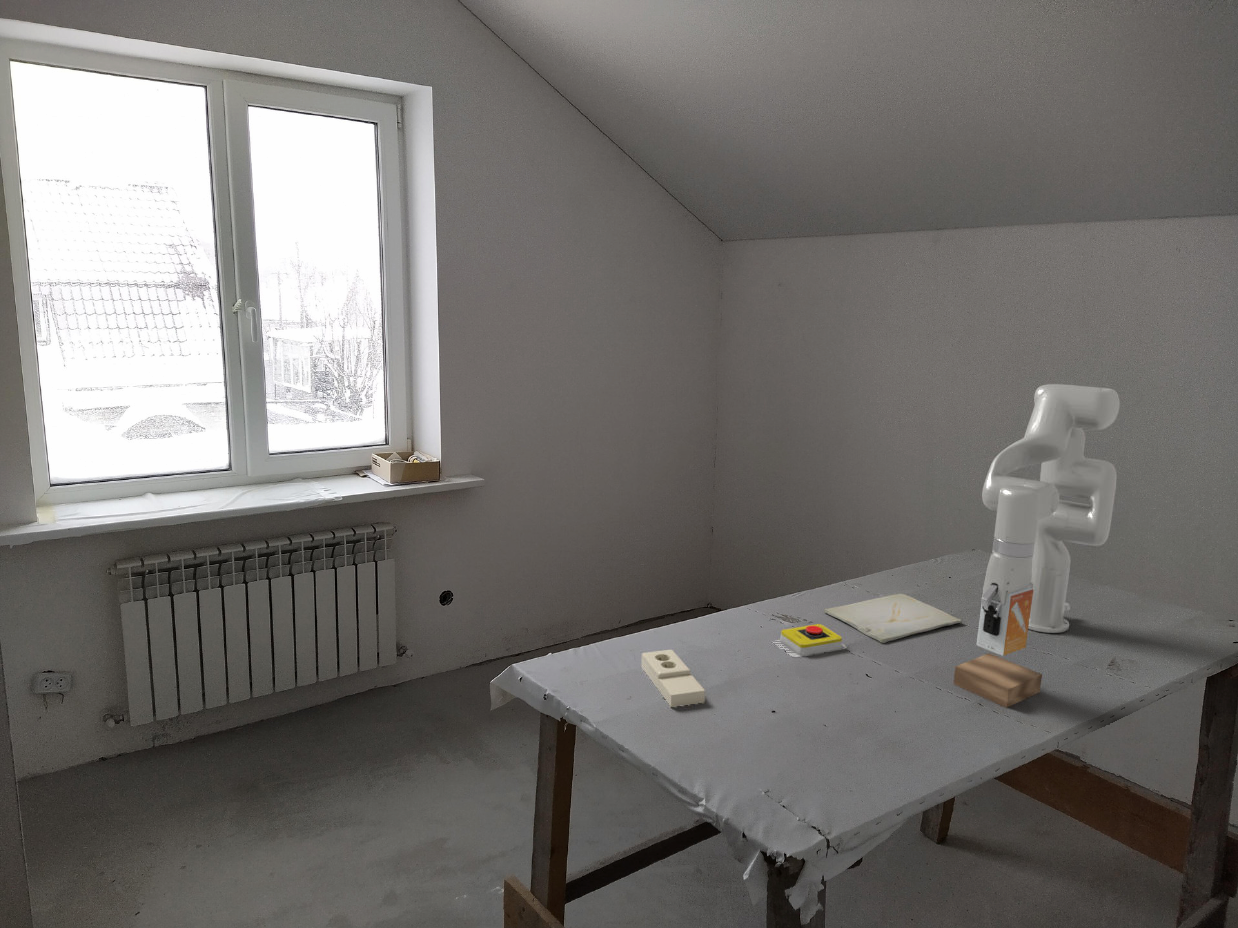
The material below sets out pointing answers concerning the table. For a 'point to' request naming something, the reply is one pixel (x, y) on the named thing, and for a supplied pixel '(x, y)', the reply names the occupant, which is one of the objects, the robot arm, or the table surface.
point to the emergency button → (810, 640)
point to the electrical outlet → (672, 678)
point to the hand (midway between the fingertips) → (1003, 628)
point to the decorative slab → (892, 617)
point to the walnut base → (997, 679)
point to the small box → (1008, 624)
